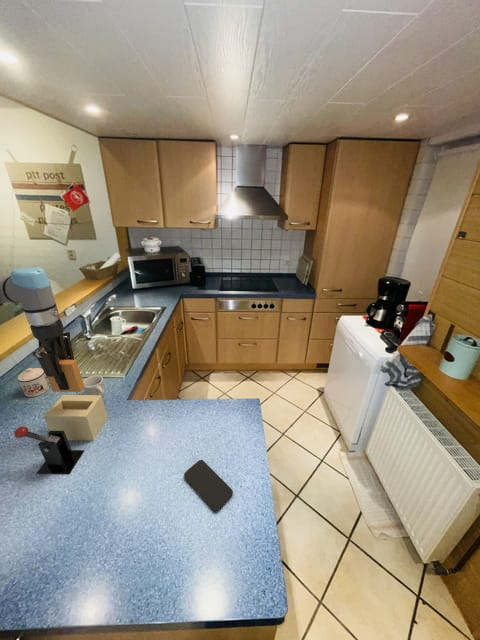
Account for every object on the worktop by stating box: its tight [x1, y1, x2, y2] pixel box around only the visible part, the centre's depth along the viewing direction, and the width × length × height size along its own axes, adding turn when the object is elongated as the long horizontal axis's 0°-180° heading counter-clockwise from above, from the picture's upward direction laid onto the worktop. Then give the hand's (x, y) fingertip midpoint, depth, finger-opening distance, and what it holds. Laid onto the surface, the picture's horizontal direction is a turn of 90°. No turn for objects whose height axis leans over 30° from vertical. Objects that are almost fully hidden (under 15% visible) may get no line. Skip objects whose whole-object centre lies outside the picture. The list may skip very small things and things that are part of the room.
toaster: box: [43, 394, 109, 441], centre depth 89 cm, size 14×10×12 cm
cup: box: [82, 374, 106, 398], centre depth 105 cm, size 11×8×8 cm
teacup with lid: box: [17, 367, 50, 398], centre depth 108 cm, size 12×9×12 cm
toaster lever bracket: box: [35, 430, 85, 475], centre depth 77 cm, size 10×8×12 cm
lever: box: [13, 425, 61, 445], centre depth 74 cm, size 12×3×3 cm, turn 91°
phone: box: [183, 459, 234, 513], centre depth 74 cm, size 7×1×15 cm
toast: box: [47, 359, 84, 393], centre depth 81 cm, size 9×2×11 cm, turn 90°
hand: (67, 385), depth 83 cm, fingers closed on toast, 2 cm apart
